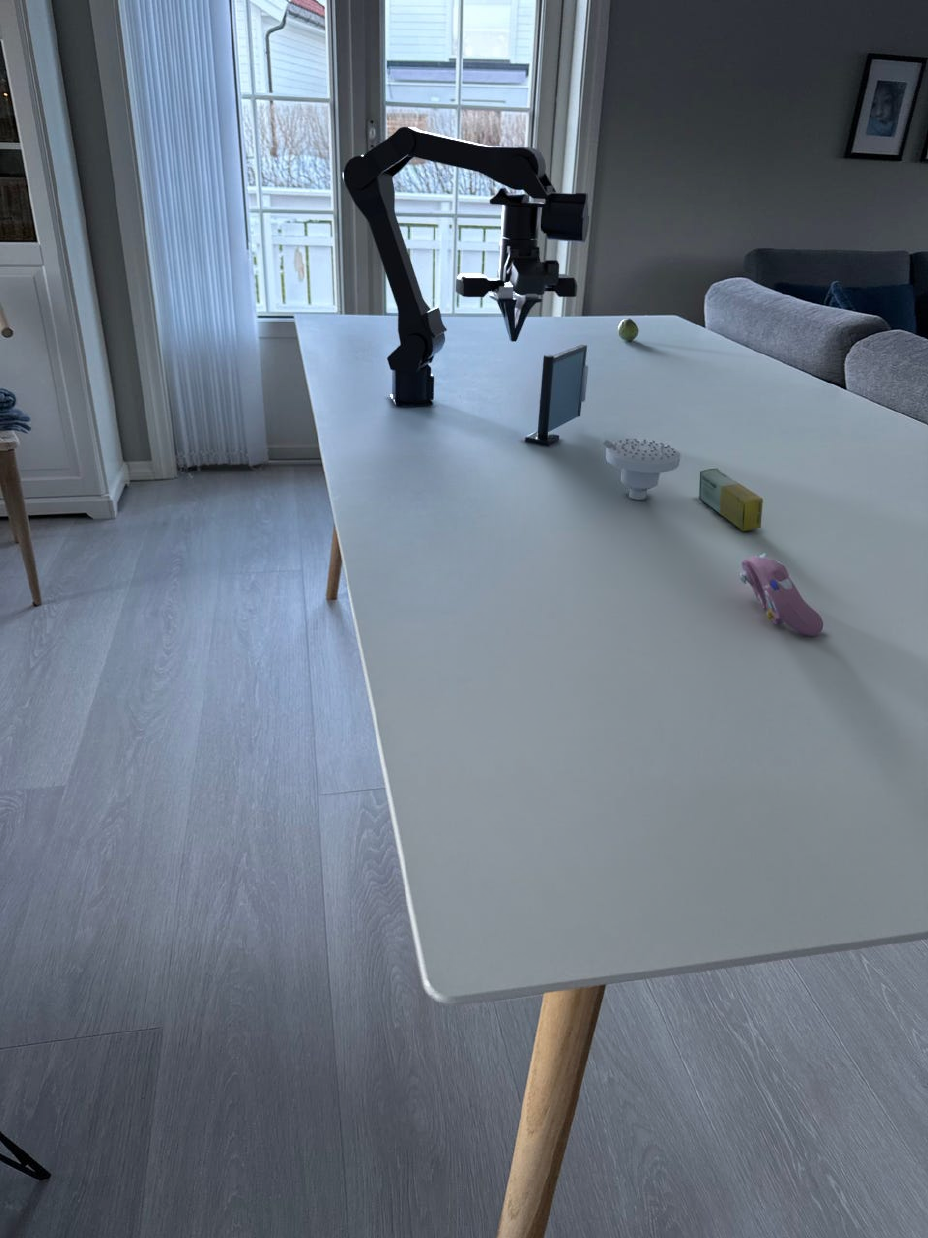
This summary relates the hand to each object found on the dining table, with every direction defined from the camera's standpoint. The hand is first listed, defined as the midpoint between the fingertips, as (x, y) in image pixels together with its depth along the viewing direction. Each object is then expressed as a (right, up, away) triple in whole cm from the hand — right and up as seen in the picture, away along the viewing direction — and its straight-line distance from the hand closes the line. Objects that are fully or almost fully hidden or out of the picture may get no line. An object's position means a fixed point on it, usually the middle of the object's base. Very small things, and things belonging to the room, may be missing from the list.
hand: (513, 341), depth 147 cm
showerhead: (+15, -29, -28) cm, 43 cm away
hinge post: (+4, -18, -8) cm, 20 cm away
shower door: (+8, -14, -3) cm, 17 cm away
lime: (+31, +20, +66) cm, 76 cm away
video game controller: (+23, -45, -57) cm, 76 cm away
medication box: (+25, -32, -33) cm, 52 cm away
